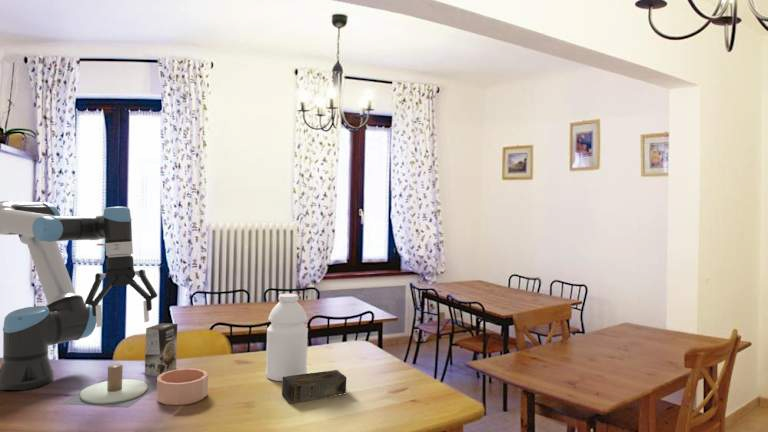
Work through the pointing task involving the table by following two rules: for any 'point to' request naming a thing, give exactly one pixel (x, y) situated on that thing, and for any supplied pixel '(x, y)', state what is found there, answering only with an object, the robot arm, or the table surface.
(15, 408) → the table surface
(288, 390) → the beverage carton
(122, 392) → the lid
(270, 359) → the bottle
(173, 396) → the bowl
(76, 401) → the mat
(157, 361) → the coffee box
